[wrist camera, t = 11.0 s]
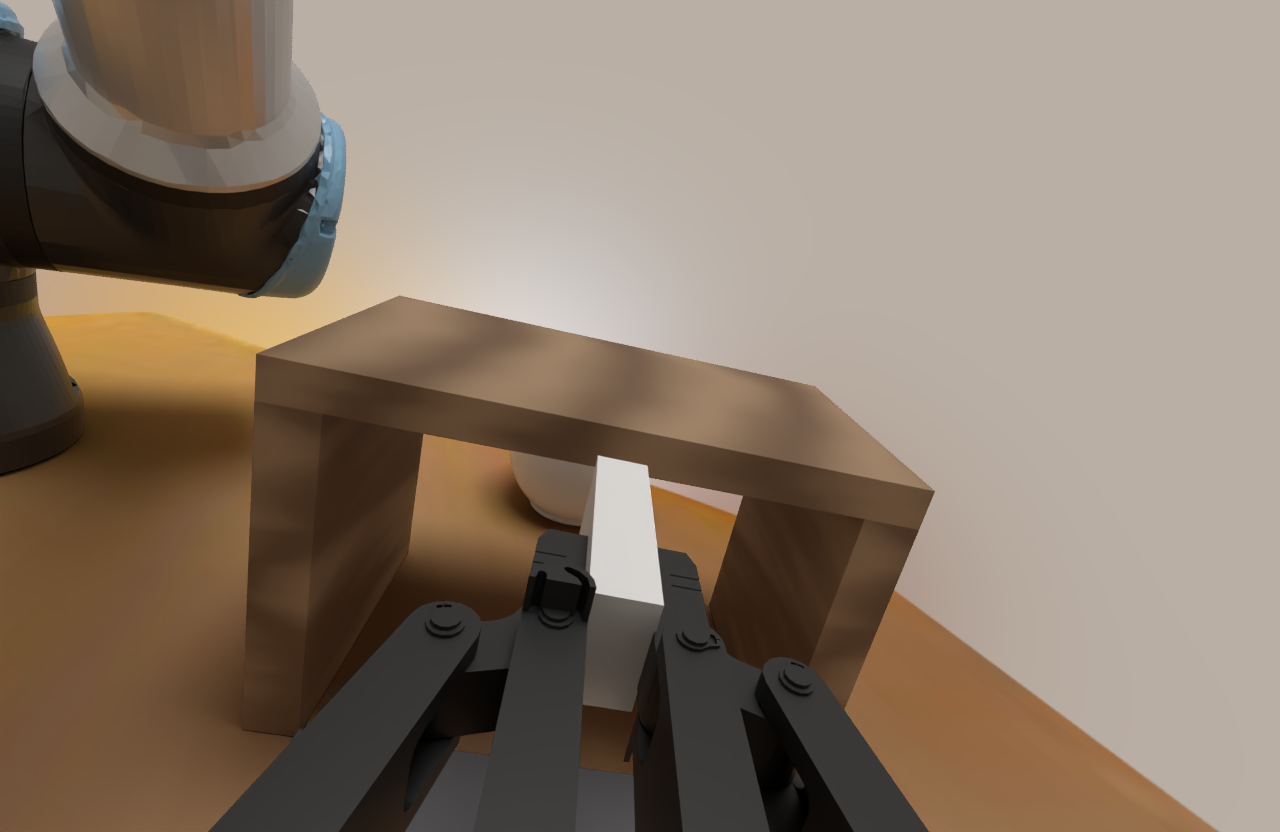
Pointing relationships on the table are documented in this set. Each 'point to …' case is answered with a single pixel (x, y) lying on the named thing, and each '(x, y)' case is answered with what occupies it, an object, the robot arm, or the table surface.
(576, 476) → the lidded jar
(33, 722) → the table surface
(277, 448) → the tunnel
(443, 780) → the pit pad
